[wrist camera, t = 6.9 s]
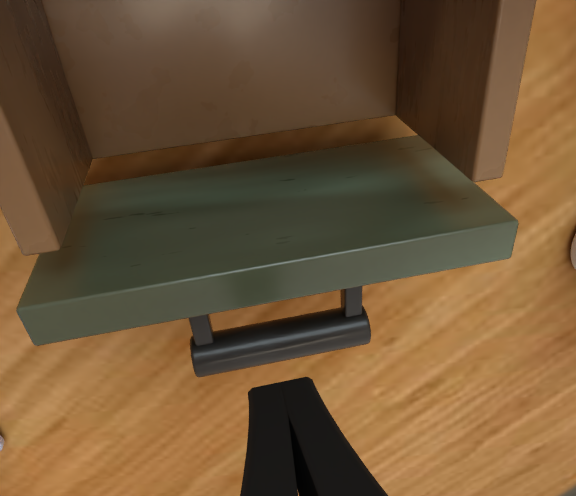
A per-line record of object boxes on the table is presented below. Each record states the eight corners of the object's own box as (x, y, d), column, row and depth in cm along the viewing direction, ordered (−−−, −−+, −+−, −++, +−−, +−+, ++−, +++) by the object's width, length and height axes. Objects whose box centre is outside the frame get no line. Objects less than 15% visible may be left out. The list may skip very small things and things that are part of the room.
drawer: (408, 266, 21) (485, 378, 15) (116, 319, 19) (94, 461, 14) (463, -414, 10) (740, -741, 5) (-157, -402, 9) (-592, -830, 4)
